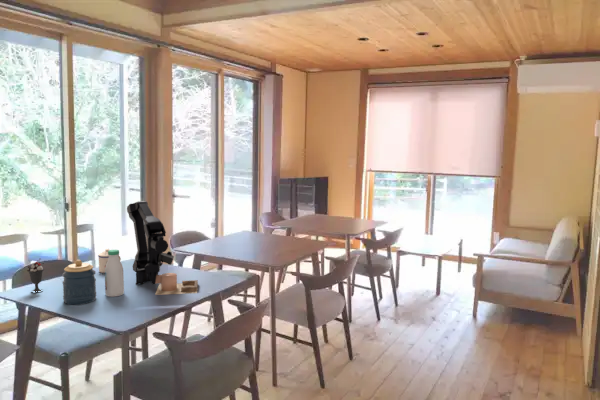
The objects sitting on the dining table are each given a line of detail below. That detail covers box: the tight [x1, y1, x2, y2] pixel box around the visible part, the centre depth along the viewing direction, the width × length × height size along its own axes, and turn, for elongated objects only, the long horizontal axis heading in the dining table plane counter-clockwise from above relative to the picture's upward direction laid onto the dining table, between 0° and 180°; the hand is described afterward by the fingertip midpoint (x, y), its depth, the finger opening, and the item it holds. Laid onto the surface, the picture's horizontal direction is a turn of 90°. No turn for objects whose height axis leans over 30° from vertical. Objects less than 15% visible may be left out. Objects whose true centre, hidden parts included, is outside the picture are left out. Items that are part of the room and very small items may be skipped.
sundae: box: [26, 259, 45, 292], centre depth 215 cm, size 7×7×15 cm
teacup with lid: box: [97, 248, 122, 274], centre depth 252 cm, size 12×9×12 cm
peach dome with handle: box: [155, 272, 178, 291], centre depth 219 cm, size 11×7×6 cm, turn 100°
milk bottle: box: [104, 249, 125, 298], centre depth 212 cm, size 8×8×20 cm
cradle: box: [155, 279, 199, 296], centre depth 220 cm, size 18×16×3 cm
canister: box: [62, 259, 97, 306], centre depth 204 cm, size 13×13×18 cm
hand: (154, 281), depth 218 cm, fingers open, 7 cm apart
